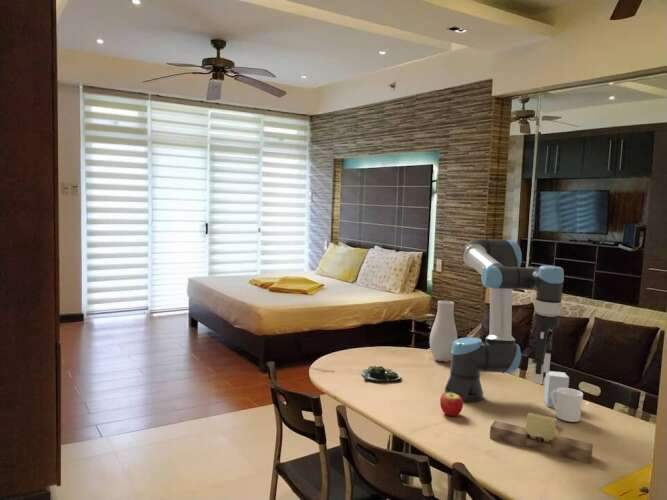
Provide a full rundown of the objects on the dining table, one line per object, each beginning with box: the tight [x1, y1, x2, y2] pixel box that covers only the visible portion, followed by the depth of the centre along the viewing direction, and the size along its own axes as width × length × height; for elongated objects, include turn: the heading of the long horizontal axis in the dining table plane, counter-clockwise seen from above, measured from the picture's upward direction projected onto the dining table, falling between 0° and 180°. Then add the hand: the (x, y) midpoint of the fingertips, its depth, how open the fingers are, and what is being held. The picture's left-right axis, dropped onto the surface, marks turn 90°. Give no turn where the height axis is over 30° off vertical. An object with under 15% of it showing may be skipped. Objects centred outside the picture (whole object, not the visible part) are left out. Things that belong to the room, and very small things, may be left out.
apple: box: [439, 387, 464, 417], centre depth 190 cm, size 8×8×10 cm
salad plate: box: [360, 365, 402, 384], centre depth 232 cm, size 19×18×5 cm
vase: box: [429, 300, 459, 363], centre depth 261 cm, size 14×14×30 cm
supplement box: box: [543, 370, 570, 409], centre depth 206 cm, size 7×7×13 cm
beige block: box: [525, 412, 558, 444], centre depth 166 cm, size 8×3×9 cm, turn 59°
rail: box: [489, 420, 594, 465], centre depth 167 cm, size 30×6×4 cm, turn 60°
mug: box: [551, 387, 584, 424], centre depth 192 cm, size 11×9×10 cm
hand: (541, 377), depth 170 cm, fingers open, 13 cm apart
